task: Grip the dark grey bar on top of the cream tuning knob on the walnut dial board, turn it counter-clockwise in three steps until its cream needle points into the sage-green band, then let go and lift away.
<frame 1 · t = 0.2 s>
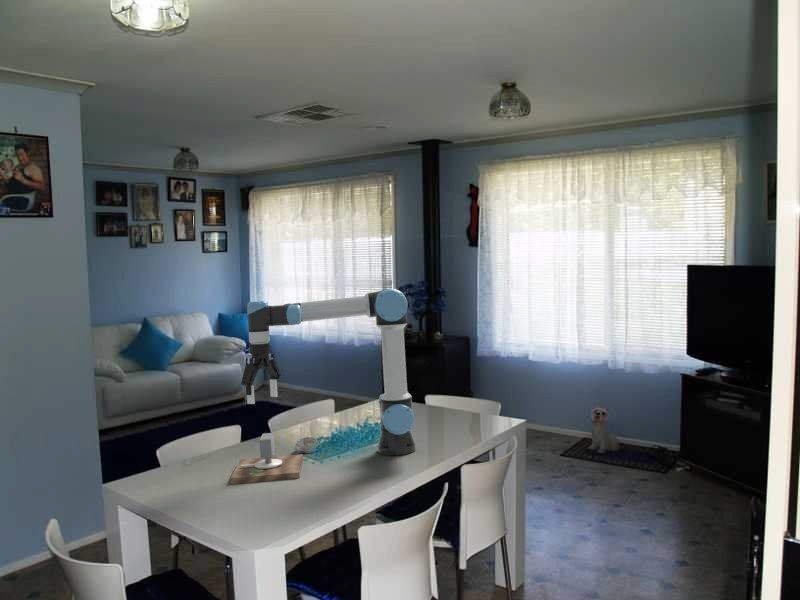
hand: (262, 400, 234), 27 cm above the table, tool pointing down, fingers open, 13 cm apart
dial board: (269, 470, 235), on the table
fossilized seashell: (307, 451, 261), on the table
tuning knob: (260, 451, 235), point 8 cm above the table, hinge at 0.0°
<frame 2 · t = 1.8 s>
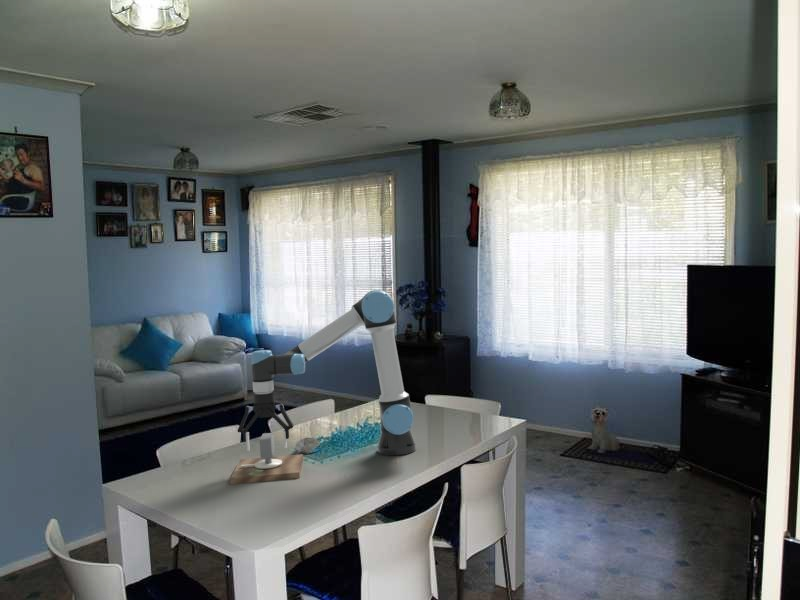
hand: (266, 449, 235), 8 cm above the table, tool pointing down, fingers open, 13 cm apart
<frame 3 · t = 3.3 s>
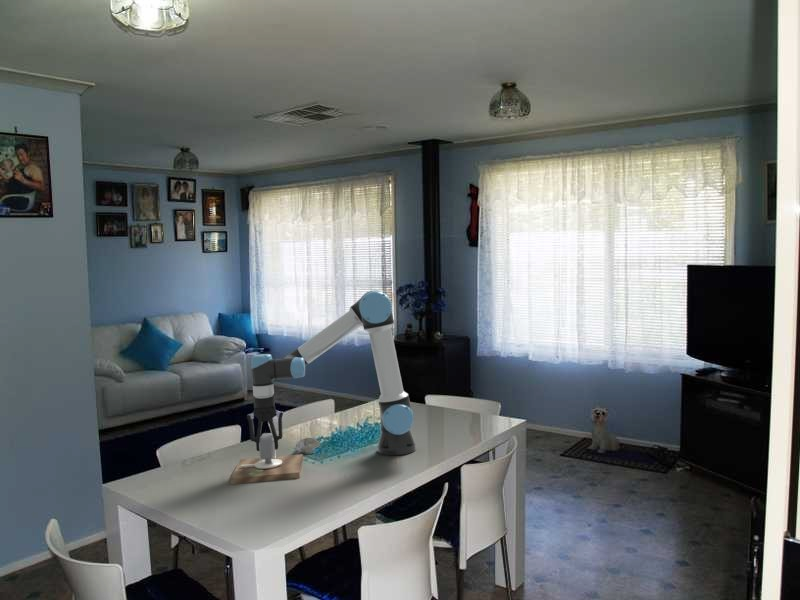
hand: (268, 458, 235), 5 cm above the table, tool pointing down, fingers closed on tuning knob, 4 cm apart
tuning knob: (260, 451, 235), point 8 cm above the table, hinge at 0.0°, touching gripper
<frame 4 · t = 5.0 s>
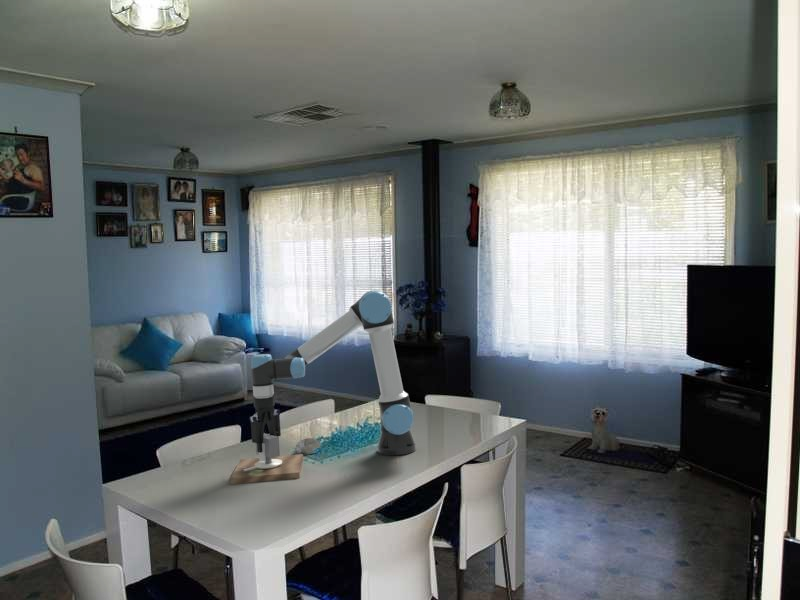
hand: (268, 458, 235), 5 cm above the table, tool pointing down, fingers closed on tuning knob, 5 cm apart
tuning knob: (261, 452, 233), point 8 cm above the table, hinge at 37.6°, touching gripper
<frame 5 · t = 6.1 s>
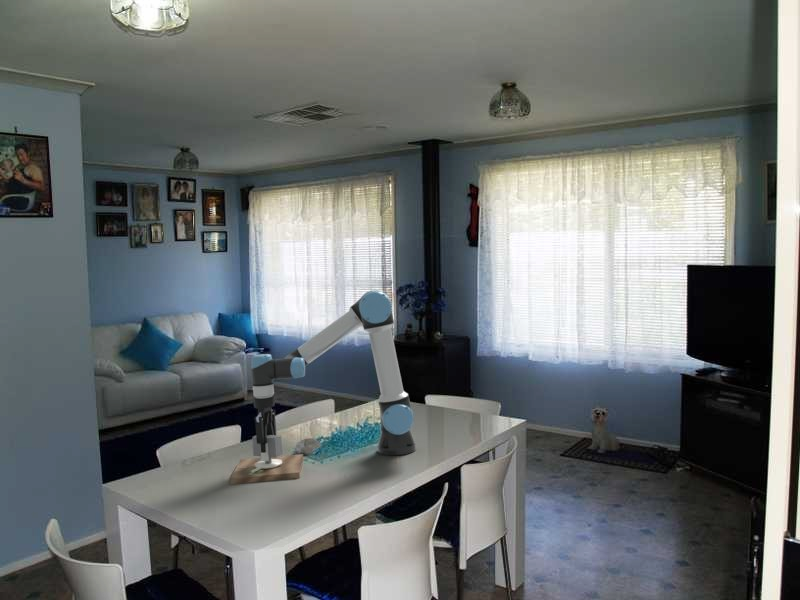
hand: (268, 458, 235), 5 cm above the table, tool pointing down, fingers closed on tuning knob, 5 cm apart
tuning knob: (263, 452, 233), point 8 cm above the table, hinge at 61.6°, touching gripper
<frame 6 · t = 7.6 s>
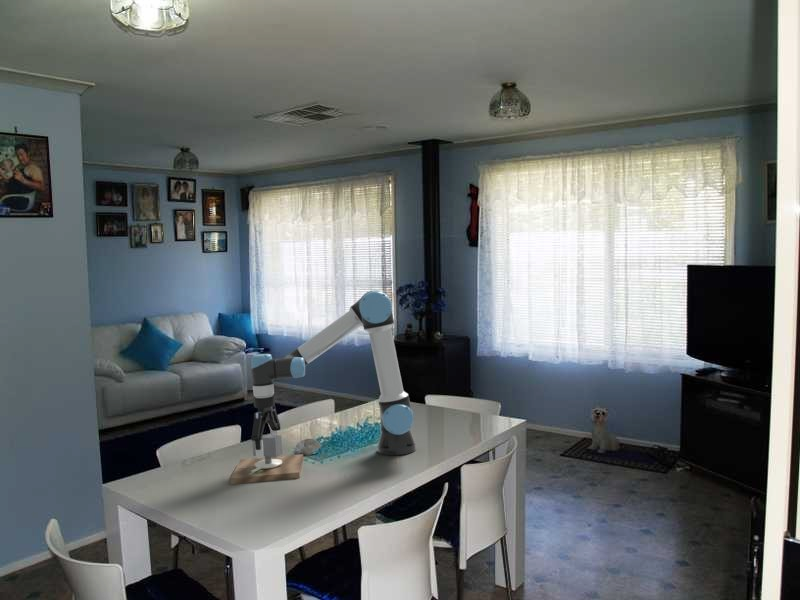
hand: (267, 452, 235), 7 cm above the table, tool pointing down, fingers open, 13 cm apart
tuning knob: (263, 452, 233), point 8 cm above the table, hinge at 62.2°
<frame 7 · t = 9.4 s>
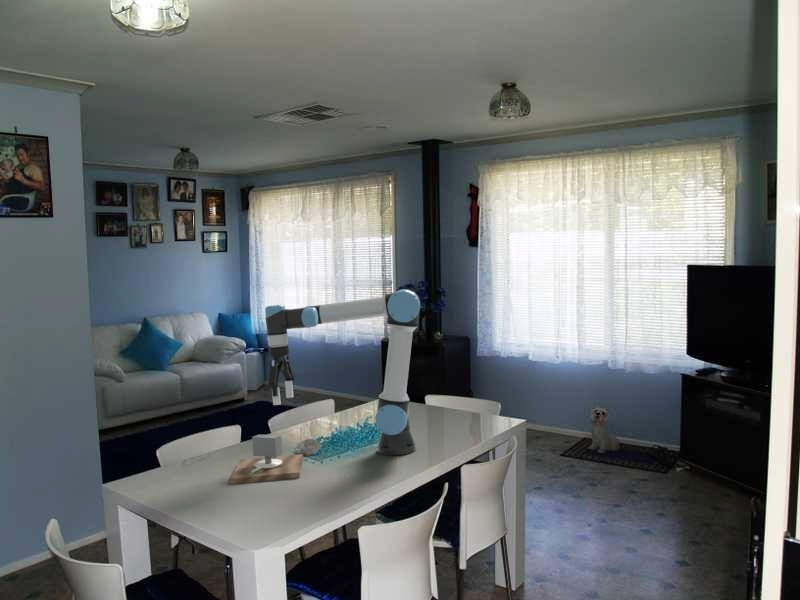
hand: (283, 401, 241), 25 cm above the table, tool pointing down, fingers open, 13 cm apart
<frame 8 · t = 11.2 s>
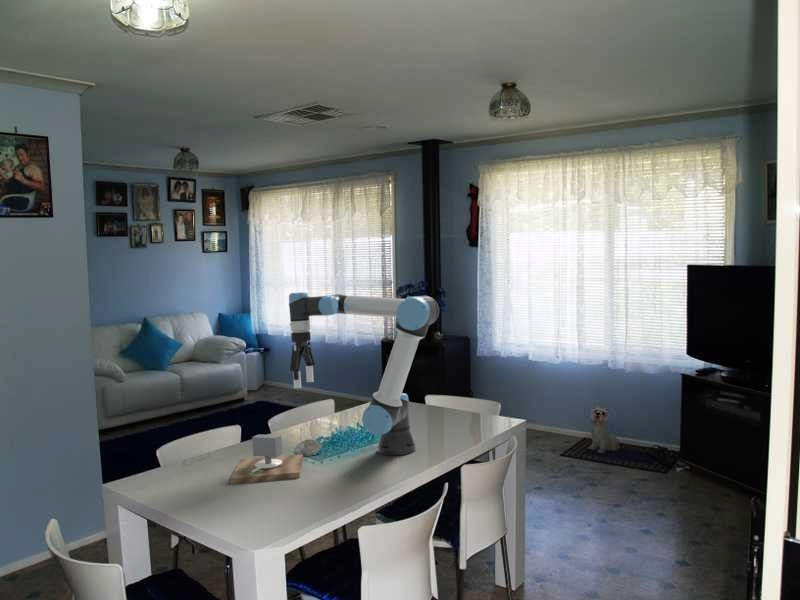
hand: (304, 385, 251), 29 cm above the table, tool pointing down, fingers open, 13 cm apart
at the end: tuning knob at +62° (first picture: +0°); the gripper is holding nothing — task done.
